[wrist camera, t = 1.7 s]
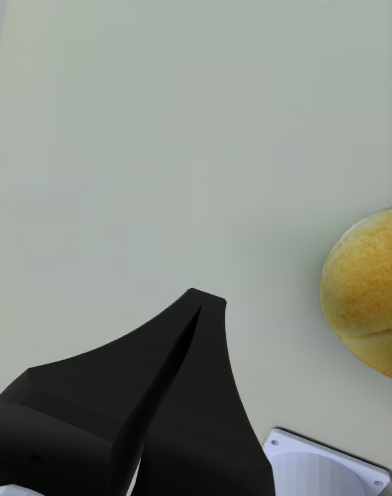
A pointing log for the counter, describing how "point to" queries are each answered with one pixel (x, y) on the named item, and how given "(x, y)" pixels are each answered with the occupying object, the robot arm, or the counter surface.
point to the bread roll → (362, 290)
